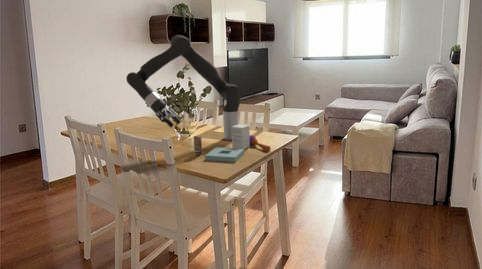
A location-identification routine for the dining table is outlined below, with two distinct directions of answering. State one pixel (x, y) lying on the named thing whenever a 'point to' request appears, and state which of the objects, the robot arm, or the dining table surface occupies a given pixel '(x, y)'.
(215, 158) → the board
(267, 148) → the kendama
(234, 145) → the supplement box
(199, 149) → the peg
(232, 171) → the dining table surface
